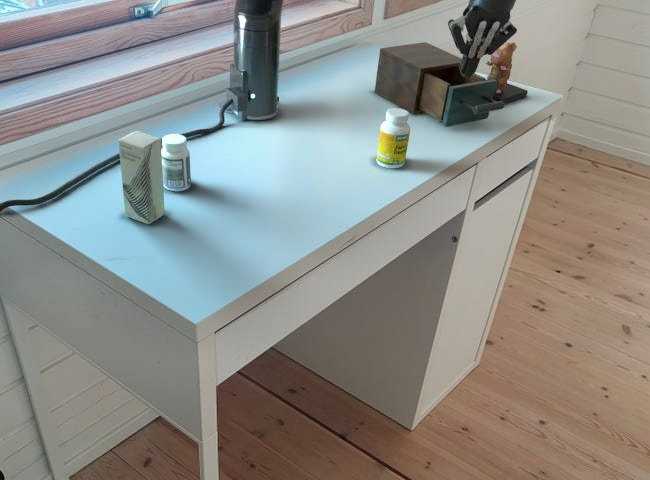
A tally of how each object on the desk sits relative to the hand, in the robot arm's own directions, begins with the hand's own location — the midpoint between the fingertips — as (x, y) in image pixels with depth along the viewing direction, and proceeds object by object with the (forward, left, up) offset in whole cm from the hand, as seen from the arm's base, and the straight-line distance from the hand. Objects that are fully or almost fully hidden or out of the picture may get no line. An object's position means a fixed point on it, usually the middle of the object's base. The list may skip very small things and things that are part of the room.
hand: (465, 74), depth 126 cm
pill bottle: (-55, +6, -14) cm, 57 cm away
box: (-64, -2, -14) cm, 65 cm away
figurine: (+28, +18, -14) cm, 37 cm away
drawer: (+9, +10, -13) cm, 19 cm away
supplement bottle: (-16, -2, -14) cm, 21 cm away
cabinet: (+9, +23, -14) cm, 29 cm away
